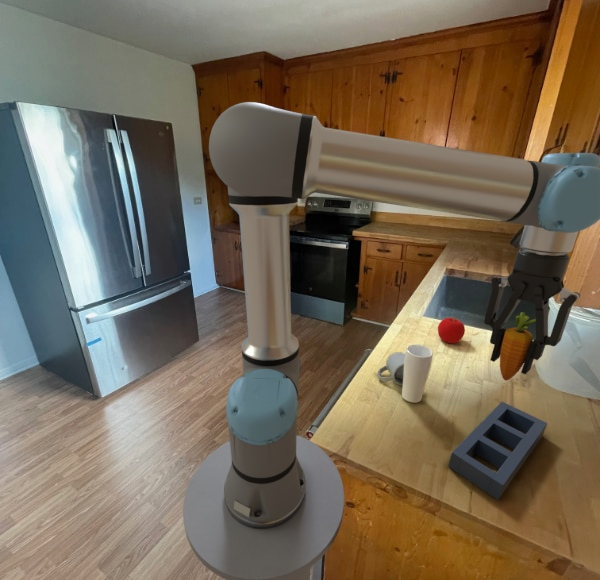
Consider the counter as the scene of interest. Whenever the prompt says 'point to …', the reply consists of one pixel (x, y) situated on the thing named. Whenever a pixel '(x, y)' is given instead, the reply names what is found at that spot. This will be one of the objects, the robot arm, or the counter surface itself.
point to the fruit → (451, 330)
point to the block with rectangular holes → (497, 448)
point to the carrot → (515, 347)
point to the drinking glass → (416, 372)
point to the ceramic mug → (394, 368)
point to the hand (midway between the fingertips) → (509, 364)
